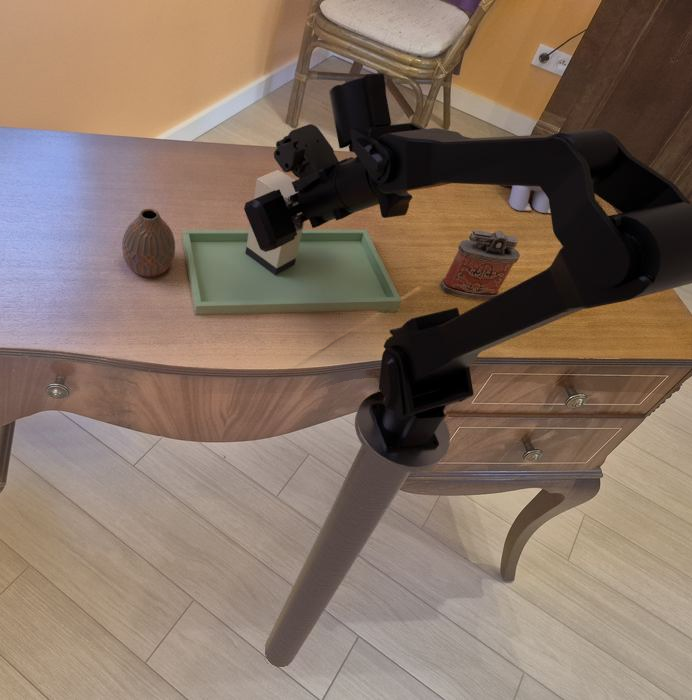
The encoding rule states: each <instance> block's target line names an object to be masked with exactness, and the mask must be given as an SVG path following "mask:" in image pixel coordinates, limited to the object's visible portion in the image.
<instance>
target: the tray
mask: <svg viewBox="0 0 692 700" xmlns="http://www.w3.org/2000/svg"><path fill="white" fill-rule="evenodd" d="M248 233H249V229H183V230H182V237H181V241H182V247H183V249H184V250H183V251H184V258H185V262H186V269H187V270H186V271H187V274H188V281H189V287H190V292H191V293H190V294H191V298H192V305H193V309H194V316H207V315H208V316H210V315H212V316H213V315H242V314H243V315H245V314H247V315H248V314H283V313H315V312H316V313H319V312H320V313H321V312H351V311H355V312H356V311H377V313H392V312H394V313H395V312H396V313H397V312H398V310H399V309H400V306H401V304H402V303H403V302H402V301H403V300H402V298H401V297H400V294H399V292H398V290H397V288H396V286H395V284H394V283H393V280H392V278H391V276H390V275H389V273H388V270H387V268H386V266H385V264H384V261H383V260H382V258H381V256H380V254H379V252H378V249H377V248H376V246H375V244H374V242H373V240H372V238H371V236H370V234H369V232H368V230H367V229H303V230H302V235H301V239H300V243H299V248H298V252H297V256H296V261H295V265H293V266H291V267H290V268H288V269H286V270H284V271H282V272H280V273H279V274H277V275H274V274H273V273H271V272H270V271H269V270H267V269H266V268H265V267H263V266H262V265H261V264H259V263H258V262H256V261H255V260H254V259H252V258H251V257H250V256H248V255H247V254H246V253H245V252H246V247H247V240H248Z"/></svg>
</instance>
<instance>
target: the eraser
mask: <svg viewBox="0 0 692 700" xmlns="http://www.w3.org/2000/svg"><path fill="white" fill-rule="evenodd" d="M296 180H297V179H294V178H293V177H291V176H289V175H288V174H286V173H285V172H284V171H281V170H279V169H276V170H273V171H272V172H269V173H267V174H264V175H262V176H260V177H258V178H256V182H255V189H254V195H253V199H256V198H258V197H260V196H263V195H265V194H267V193H270V192H272V191H274V190H278V189H280V191H281V194H282V195H283V197H284V200H285V201H286V202H287V204H288V203H289V201H288V197H289V196H291V195H293V194H295V193H298V192H295V190H294V187H293V185H292V182H293V181H296ZM297 204H298V202H296V203H294V204H293V206H294V205H297ZM300 214H302V212H300V213H298V214H297V216H298V215H300ZM295 219H296V218H295ZM304 225H305V222H303V227H302V229H301V230H299V231H297V235H296V236H295V239H294V240H292V241H290V242H288V243H286V244H284V245H282V246H280V247H278V248H276V249H274V250H270V251H267V252H264V251H263V250H261V249H260V247H259V245H258V242H257V240H256V237H255V235H254V233H253V230H252V228H251V225H250V224H249V226H248V227H249V228H248V230H249V233H248V240H247V247H246V252H245V253H246V254H247V255H248V256H250V257H251V258H252V259H254V260H255V261H256V262H258V263H259V264H261V265H262V266H263V267H265V268H266V269H267V270H269V271H270V272H271V273H273V274H274V275H277V274H279V273H280V272H282V271H284V270H286V269H288V268H290V267H291V266H293V265H295V261H296V256H297V252H298V248H299V243H300V239H301V235H302V230H304Z"/></svg>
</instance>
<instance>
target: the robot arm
mask: <svg viewBox="0 0 692 700" xmlns="http://www.w3.org/2000/svg"><path fill="white" fill-rule="evenodd" d="M328 95H329V100H330V106H331V110H332V111H331V112H332V115H333V121H334V126H335V127H334V128H335V132H336V137H337V142H338V143H337V144H338V148H339V149H344V148H347V147H348V150H349V152H350V153H354V154H355V156H356V157H353V156H351V157H348V158H347V157H346V158H344V159H341V160H339V159H338V157H337V156H336V154H335V150H334V148H333V146H332V145H331V144H330V142H329V141H328V139H327V138H326V137H325V136H324V135H325V134H323V133H322V131H321V130H320V129H319V127H318V126H316V125H315V124H312V123H309V124H306V125H303V126H300V127H297V128H294V129H293V130H290V131H289V133H288V134H287V135H285V136H284V137H283V138H282V139H280V140H277V141H276V143H275V147H276V149H275V150H274V151H273V158H274V160H275V161H276V163H277V164H278V166H279V167H280V168H281V170H282V172H283V173H289V172H291V173H292V174H293V175H294V176H295V177H297V178H298V179H295V180H296V181H293V182H292V185H293V187H294V190H295V192H298V193H295V194H293V195H291V196H289V197H288V201H289V203H288V204H287V202H286V201H285V200H284V197H283V195H282V194H281V191H280V189H278V190H274V191H272V192H270V193H267V194H265V195H263V196H260V197H258V198H256V199H254V198H253V199H251V200H249V201H247V202H245V204H244V206H243V210H244V213H245V216H246V218H247V221H248V222H249V226H250V225H251V228H252V230H253V233H254V235H255V237H256V240H257V242H258V245H259V247H260V249H261V250H263V251H264V252H267V251H270V250H274V249H276V248H278V247H280V246H282V245H284V244H286V243H288V242H290V241H292V240H294V239H295V236H296V235H297V231H299V230H301V229H302V227H303V228H304V226H303V222H304V223H306V221H309V223H310V225H311V228H312V229H315V228H318V227H320V226H323V225H324V224H326V223H328V222H331V221H333V220H335V221H340V220H342V219H345V218H346V217H349V216H351V215H352V214H354V213H357V212H360V211H363V210H366V209H369V208H372V207H375V206H378V205H379V210H380V211H379V212H380V217H382V218H384V219H387V218H395V217H396V218H397V217H402V216H406V215H407V213H408V210H409V208H410V202H411V200H413V195H412V194H411V193H409V192H410V191H417V190H418V191H419V190H423V189H430V188H436V187H441V186H447V185H450V184H460V185H490V186H503V185H513V186H540V187H541V189H542V190H543V191H544V193H545V194H546V196H547V197H548V199H549V206H550V212H551V214H550V220H551V225H552V232H553V234H554V236H555V238H556V239H557V240H558V242H559V243H560V244H561V248H560V249H559V251H558V253H557V254H556V256H555V258H554V259H553V261H552V263H551V265H550V266H548V267H547V268H546V269H544V270H543V271H540V272H539V273H537V274H535V275H533V276H532V277H530V278H528V279H526V280H524V281H522V282H520V283H518V284H516V285H514V286H513V287H510V288H508V289H506V290H505V291H503V292H501V293H498V294H497V296H495V297H493V298H491V299H490V300H485V301H483V302H482V303H479V304H478V305H476V306H474V307H473V308H470V309H469V310H466V311H464V312H463V313H461V314H460V312H459V308H458V307H453V308H449V309H445V310H441V311H437V312H433V313H427V314H425V315H420V316H416V317H412V318H410V319H409V320H407V321H406V322H405V323H403V325H401V326H399V327H396V328H392V329H389V333H390V335H391V336H389V337H388V338H386V340H385V342H384V344H383V349H384V350H383V352H382V355H381V364H380V373H379V381H378V389H379V391H381V392H382V394H383V395H384V401H383V403H379V404H372V405H371V407H370V410H371V413H372V416H373V418H374V421H375V423H376V426H377V429H378V431H379V434H380V436H381V439H382V442H383V444H384V447H385V449H386V450H387V451H389V452H392V451H406V450H419V449H433V448H437V447H438V445H439V442H438V440H437V437H436V435H435V431H436V429H437V428H438V426H439V425H440V423H441V421H442V420H443V419H444V418H445V416H446V413H445V412H444V410H445V409H446V406H449V405H453V404H455V403H461V402H464V401H466V400H468V399H470V398H472V397H473V396H474V388H473V382H472V381H473V380H472V377H471V376H472V375H471V370H470V369H471V368H470V366H472V365H473V364H474V363H475V362H476V361H477V359H478V358H479V357H478V356H479V354H481V353H482V352H484V351H486V350H489V349H491V348H493V347H495V346H498V345H501V344H503V343H506V342H508V341H510V340H513V339H515V338H518V337H519V336H522V335H524V334H527V333H529V332H531V331H534V330H536V329H539V328H542V327H544V326H546V325H548V324H549V325H550V324H551V323H554V322H556V321H558V320H560V319H563V318H565V317H567V316H570V315H572V314H575V313H577V312H579V311H582V310H587V309H591V308H592V309H593V308H597V307H603V306H607V305H612V304H617V303H622V302H623V303H624V302H627V301H631V300H635V299H638V298H642V297H646V296H650V295H653V294H657V293H661V292H664V291H665V292H666V291H668V290H672V289H675V288H680V287H683V286H687V285H690V284H692V203H691V201H690V200H689V199H688V198H687V197H686V196H685V195H684V193H683V192H682V191H681V189H680V188H679V187H678V186H677V185H676V184H675V183H674V182H673V181H671V180H670V179H669V178H666V177H665V176H664V175H663V174H660V173H659V172H658V171H656V170H655V169H653V168H652V167H650V166H649V165H647V164H646V163H644V162H643V161H641V160H639V159H638V158H637V157H635V156H634V155H632V153H631V152H630V151H629V150H628V149H627V148H626V146H625V145H624V144H623V142H621V140H620V139H619V138H618V137H617V136H616V135H614V134H613V133H612V132H610V131H607V130H606V129H603V128H597V127H596V128H588V129H580V130H572V131H564V132H557V133H548V134H547V133H546V134H527V135H510V136H494V137H493V136H491V137H470V136H464V135H462V134H461V133H460V132H458V131H454V130H449V129H443V128H439V127H432V128H424V127H423V126H422V125H421V126H420V125H418V124H417V123H415V122H406V123H395V124H392V119H391V115H390V114H391V113H390V109H389V103H388V98H387V86H386V78H385V74H384V73H383V72H375V73H367V74H365V75H364V76H363V77H360V78H356V79H353V80H350V81H346V82H344V83H342V84H336V85H334V86H333V87H332V88H331V89H330V90H329V91H328ZM596 196H597V197H599V198H600V199H602V200H603V201H605V202H606V203H608V204H609V205H611V206H612V207H613V208H615V209H616V210H618V211H619V212H620V213H616V214H611V215H608V213H607V212H606V211H605V209H604V208H603V207H602V206H601V205H600V203H599V202H598V200H597V198H596ZM296 202H298V204H297V205H294V206H293V204H294V203H296ZM300 212H302V214H300V215H298V216H297V214H298V213H300ZM295 218H296V219H295ZM373 407H374V408H376V409H374V408H373ZM433 443H435V444H436V445H435V444H433ZM388 446H390V447H391V448H389V447H388Z"/></svg>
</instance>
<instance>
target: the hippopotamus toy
mask: <svg viewBox="0 0 692 700" xmlns="http://www.w3.org/2000/svg"><path fill="white" fill-rule="evenodd" d="M502 186H503V187H510V188H511V189H510V190H511V191H510V195H509V200H508V205H509V207H511V208H512V209H513V210H515V211H519V212H532V208H533V210H535V211H536V212H538V213H540V214H550V215H551V212H550V206H549V199H548V197H547V196H546V194H545V193H544V191H543V190H542V189H541V187H540V186H513V185H502ZM531 191H533V196H532V200H531V204H530V203H529V200H530V195H531Z"/></svg>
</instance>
